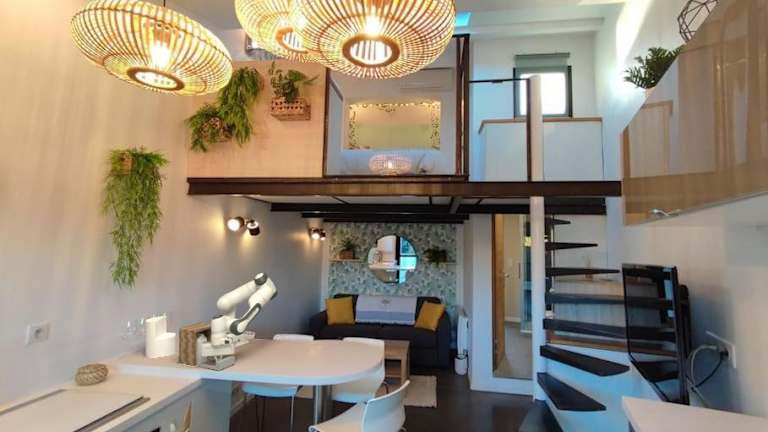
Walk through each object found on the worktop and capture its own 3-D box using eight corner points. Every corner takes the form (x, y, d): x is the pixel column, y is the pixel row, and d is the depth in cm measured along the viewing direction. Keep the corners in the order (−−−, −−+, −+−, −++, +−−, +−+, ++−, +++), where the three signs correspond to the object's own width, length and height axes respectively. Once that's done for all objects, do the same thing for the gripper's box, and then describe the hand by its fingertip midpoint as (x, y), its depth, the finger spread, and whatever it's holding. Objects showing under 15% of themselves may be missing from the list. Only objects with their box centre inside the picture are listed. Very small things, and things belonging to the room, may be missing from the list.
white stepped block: (139, 359, 258) (139, 322, 258) (154, 350, 276) (154, 316, 277) (168, 358, 259) (167, 321, 259) (180, 349, 278) (180, 315, 278)
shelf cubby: (179, 364, 246) (179, 328, 246) (200, 356, 261) (200, 322, 261) (194, 367, 240) (194, 330, 240) (215, 359, 255) (215, 324, 255)
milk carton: (199, 364, 246) (199, 335, 246) (190, 363, 247) (190, 334, 247) (207, 360, 252) (206, 332, 253) (197, 359, 254) (197, 331, 254)
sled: (184, 363, 247) (184, 355, 247) (200, 357, 258) (200, 350, 258) (219, 370, 233) (219, 362, 233) (234, 363, 244) (234, 356, 244)
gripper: (199, 343, 237) (200, 365, 237) (233, 340, 241) (234, 362, 241) (202, 340, 244) (202, 361, 243) (235, 337, 248) (236, 358, 247)
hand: (218, 362), depth 242 cm, fingers closed
